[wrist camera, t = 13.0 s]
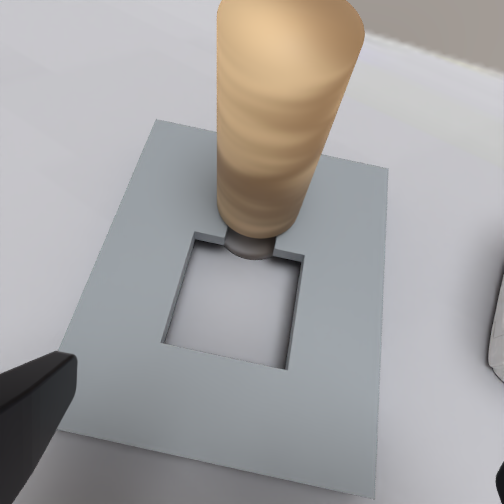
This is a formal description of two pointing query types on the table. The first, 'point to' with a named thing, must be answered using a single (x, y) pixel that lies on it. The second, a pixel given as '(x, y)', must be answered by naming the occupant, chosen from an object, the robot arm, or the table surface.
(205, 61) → the table surface
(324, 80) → the ribbed peg
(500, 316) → the photo printer
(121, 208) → the keyhole plate
